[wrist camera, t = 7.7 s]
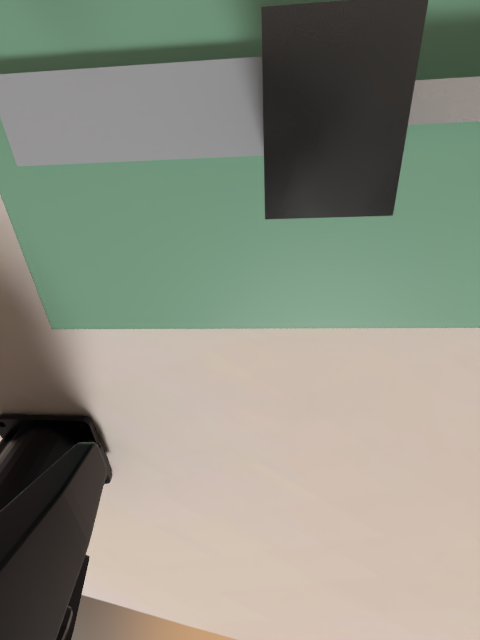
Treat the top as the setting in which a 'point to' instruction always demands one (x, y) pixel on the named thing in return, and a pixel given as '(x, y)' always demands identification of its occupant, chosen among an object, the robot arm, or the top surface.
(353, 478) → the top surface
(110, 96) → the pitch
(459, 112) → the push rod
